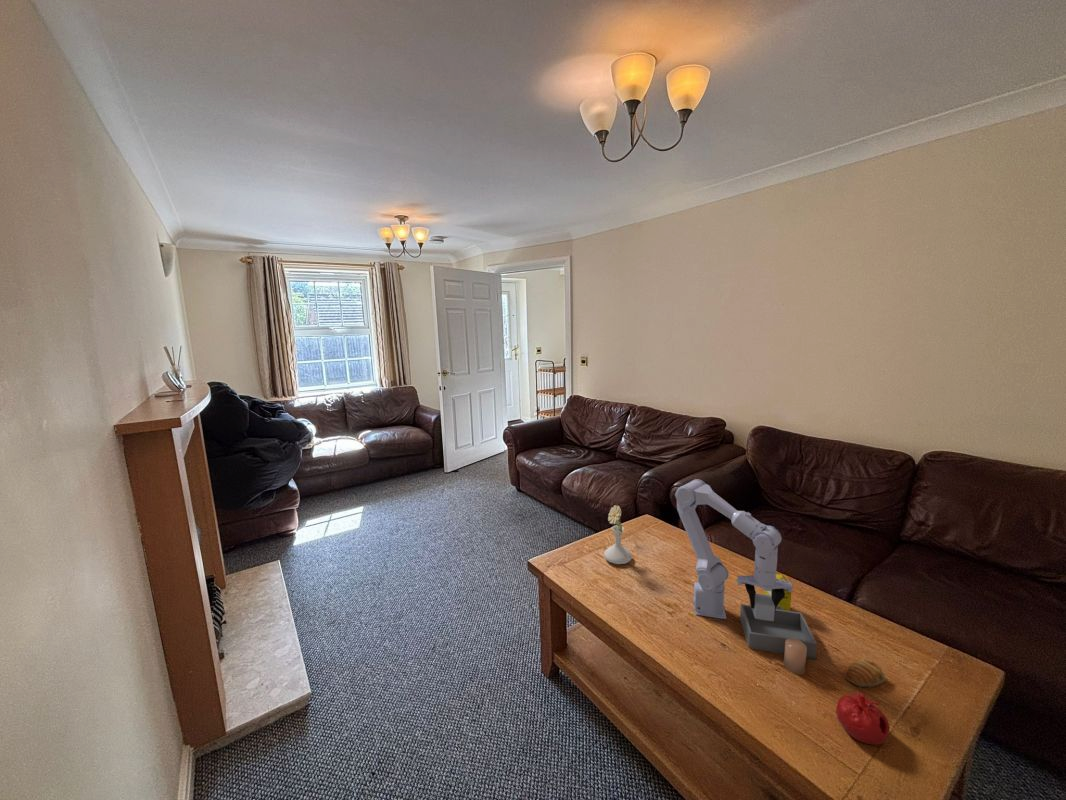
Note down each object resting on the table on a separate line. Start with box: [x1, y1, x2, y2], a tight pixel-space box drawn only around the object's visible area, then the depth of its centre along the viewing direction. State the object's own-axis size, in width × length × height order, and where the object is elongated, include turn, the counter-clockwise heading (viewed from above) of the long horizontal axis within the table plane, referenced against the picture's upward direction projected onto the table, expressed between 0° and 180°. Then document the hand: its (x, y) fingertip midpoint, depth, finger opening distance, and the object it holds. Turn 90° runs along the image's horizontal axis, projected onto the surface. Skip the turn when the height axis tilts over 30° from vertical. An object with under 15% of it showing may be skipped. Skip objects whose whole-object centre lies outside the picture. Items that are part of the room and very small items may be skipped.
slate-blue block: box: [752, 593, 775, 621], centre depth 124 cm, size 5×5×5 cm
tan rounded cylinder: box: [783, 638, 807, 676], centre depth 114 cm, size 5×5×7 cm
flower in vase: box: [603, 505, 633, 565], centre depth 167 cm, size 13×11×25 cm
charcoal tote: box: [739, 603, 818, 660], centre depth 125 cm, size 17×13×5 cm
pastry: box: [845, 658, 887, 688], centre depth 110 cm, size 9×7×4 cm
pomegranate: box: [835, 690, 891, 745], centre depth 95 cm, size 10×10×9 cm
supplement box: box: [764, 573, 792, 611], centre depth 137 cm, size 6×6×11 cm
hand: (762, 608), depth 125 cm, fingers closed on slate-blue block, 5 cm apart
